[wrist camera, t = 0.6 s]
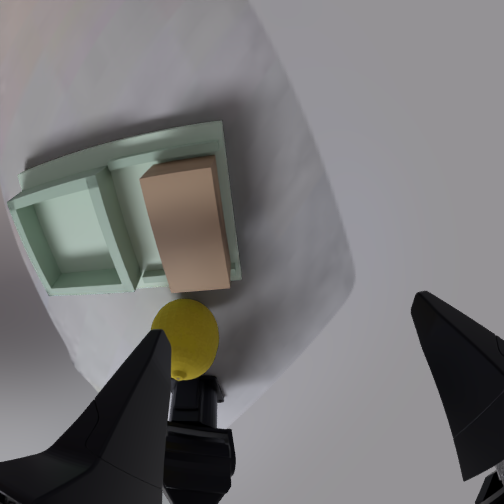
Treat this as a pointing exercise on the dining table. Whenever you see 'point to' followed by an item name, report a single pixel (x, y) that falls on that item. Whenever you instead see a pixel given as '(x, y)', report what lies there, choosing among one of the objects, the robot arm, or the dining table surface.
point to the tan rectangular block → (188, 223)
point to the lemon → (188, 337)
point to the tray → (109, 211)
